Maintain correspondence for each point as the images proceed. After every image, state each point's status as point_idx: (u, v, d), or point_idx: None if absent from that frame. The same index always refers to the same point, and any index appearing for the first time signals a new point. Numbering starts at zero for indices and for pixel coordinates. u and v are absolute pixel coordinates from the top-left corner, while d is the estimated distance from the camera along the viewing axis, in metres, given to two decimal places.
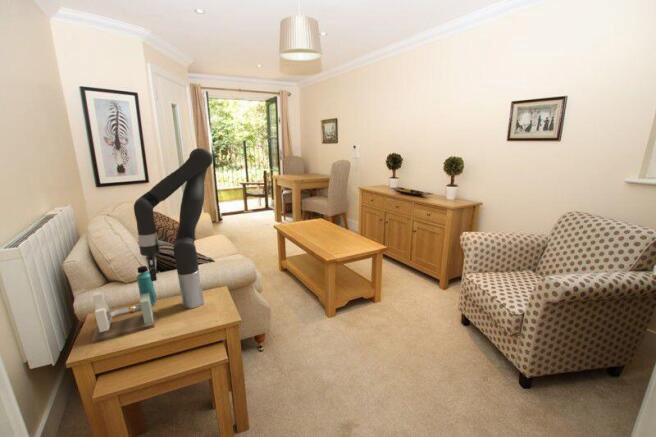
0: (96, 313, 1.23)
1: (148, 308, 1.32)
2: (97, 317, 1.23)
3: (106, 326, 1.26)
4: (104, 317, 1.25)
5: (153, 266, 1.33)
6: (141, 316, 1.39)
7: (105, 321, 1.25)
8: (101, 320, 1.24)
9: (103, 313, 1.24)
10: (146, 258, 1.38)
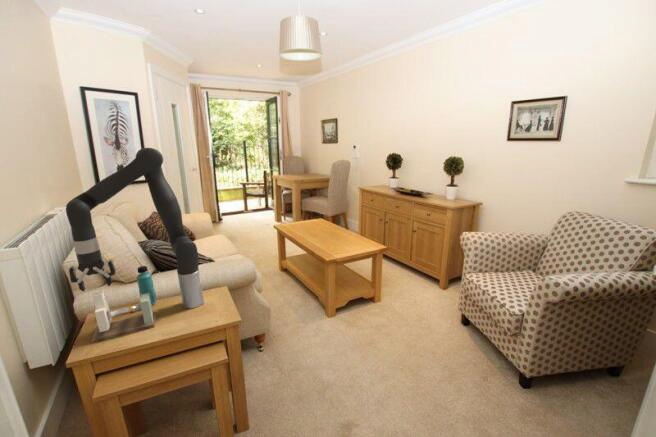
0: (96, 313, 1.23)
1: (148, 308, 1.32)
2: (97, 317, 1.23)
3: (106, 326, 1.26)
4: (104, 317, 1.25)
5: (113, 266, 1.27)
6: (141, 316, 1.39)
7: (105, 321, 1.25)
8: (101, 320, 1.24)
9: (103, 313, 1.24)
10: (88, 268, 1.21)
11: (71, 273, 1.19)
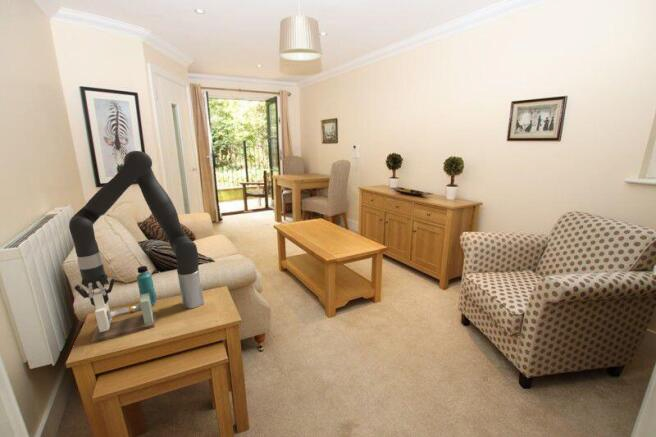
0: (96, 313, 1.23)
1: (148, 308, 1.32)
2: (97, 317, 1.23)
3: (106, 326, 1.26)
4: (104, 317, 1.25)
5: None
6: (141, 316, 1.39)
7: (105, 321, 1.25)
8: (101, 320, 1.24)
9: (103, 313, 1.24)
10: (91, 282, 1.22)
11: (79, 290, 1.22)
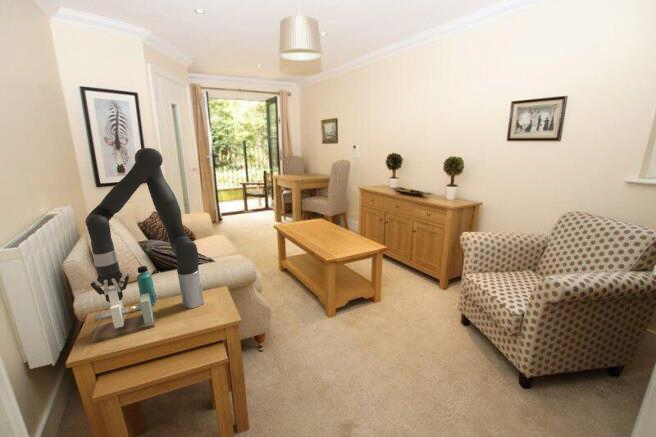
0: (111, 309, 1.25)
1: (148, 308, 1.32)
2: (112, 313, 1.26)
3: (121, 322, 1.28)
4: (119, 313, 1.27)
5: None
6: (141, 316, 1.39)
7: (120, 317, 1.27)
8: (116, 316, 1.26)
9: (118, 309, 1.26)
10: (106, 279, 1.25)
11: (94, 287, 1.24)
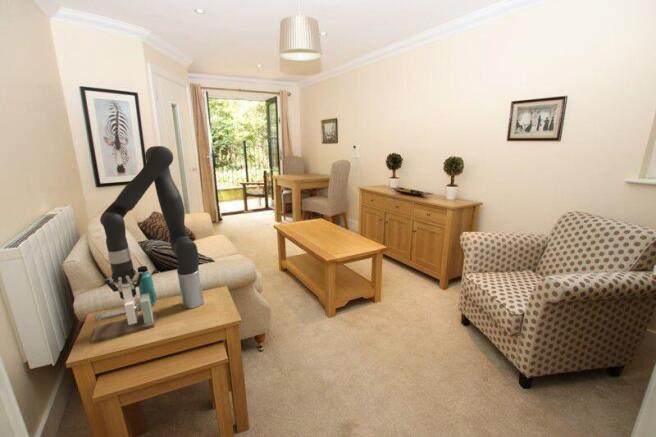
0: (125, 306, 1.27)
1: (148, 308, 1.32)
2: (126, 310, 1.28)
3: (134, 319, 1.30)
4: (133, 310, 1.29)
5: None
6: (141, 316, 1.39)
7: (134, 314, 1.29)
8: (130, 313, 1.29)
9: (132, 306, 1.28)
10: (121, 276, 1.27)
11: (109, 284, 1.26)
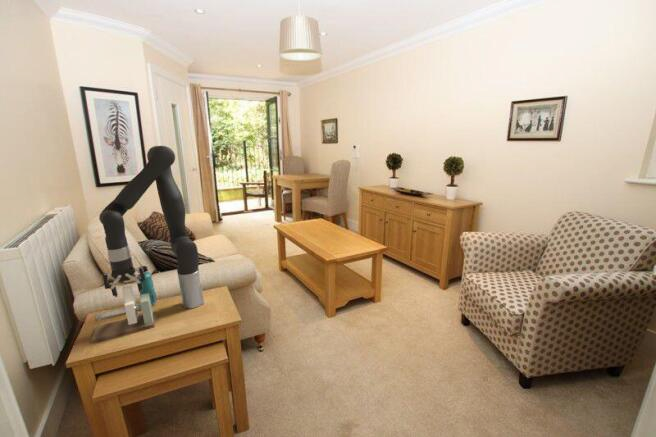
0: (126, 306, 1.27)
1: (148, 308, 1.32)
2: (126, 310, 1.28)
3: (135, 319, 1.30)
4: (133, 310, 1.29)
5: (143, 272, 1.32)
6: (141, 316, 1.39)
7: (134, 314, 1.29)
8: (130, 313, 1.29)
9: (132, 306, 1.28)
10: (121, 275, 1.27)
11: (105, 280, 1.25)
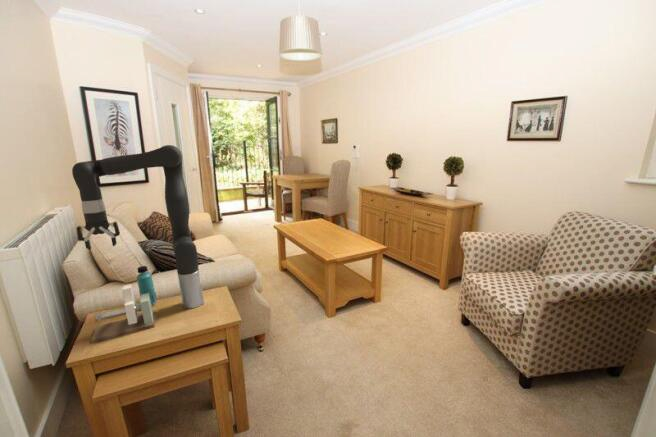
0: (126, 306, 1.27)
1: (148, 308, 1.32)
2: (126, 310, 1.28)
3: (135, 319, 1.30)
4: (133, 310, 1.29)
5: None
6: (141, 316, 1.39)
7: (134, 314, 1.29)
8: (130, 313, 1.29)
9: (132, 306, 1.28)
10: (95, 228, 1.29)
11: (78, 232, 1.27)
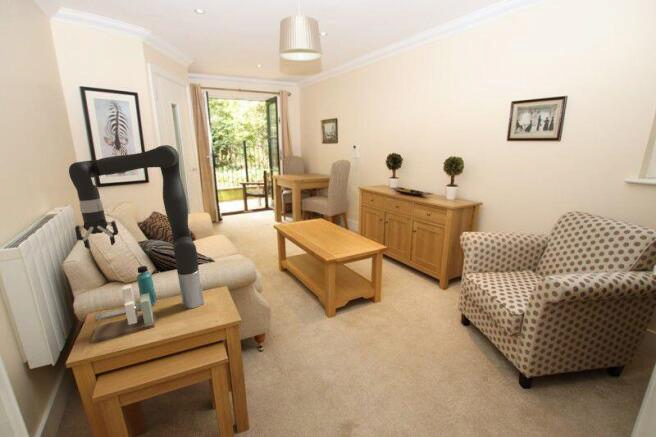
0: (126, 306, 1.27)
1: (148, 308, 1.32)
2: (126, 310, 1.28)
3: (135, 319, 1.30)
4: (133, 310, 1.29)
5: (116, 226, 1.35)
6: (141, 316, 1.39)
7: (134, 314, 1.29)
8: (130, 313, 1.29)
9: (132, 306, 1.28)
10: (93, 227, 1.30)
11: (77, 231, 1.28)
